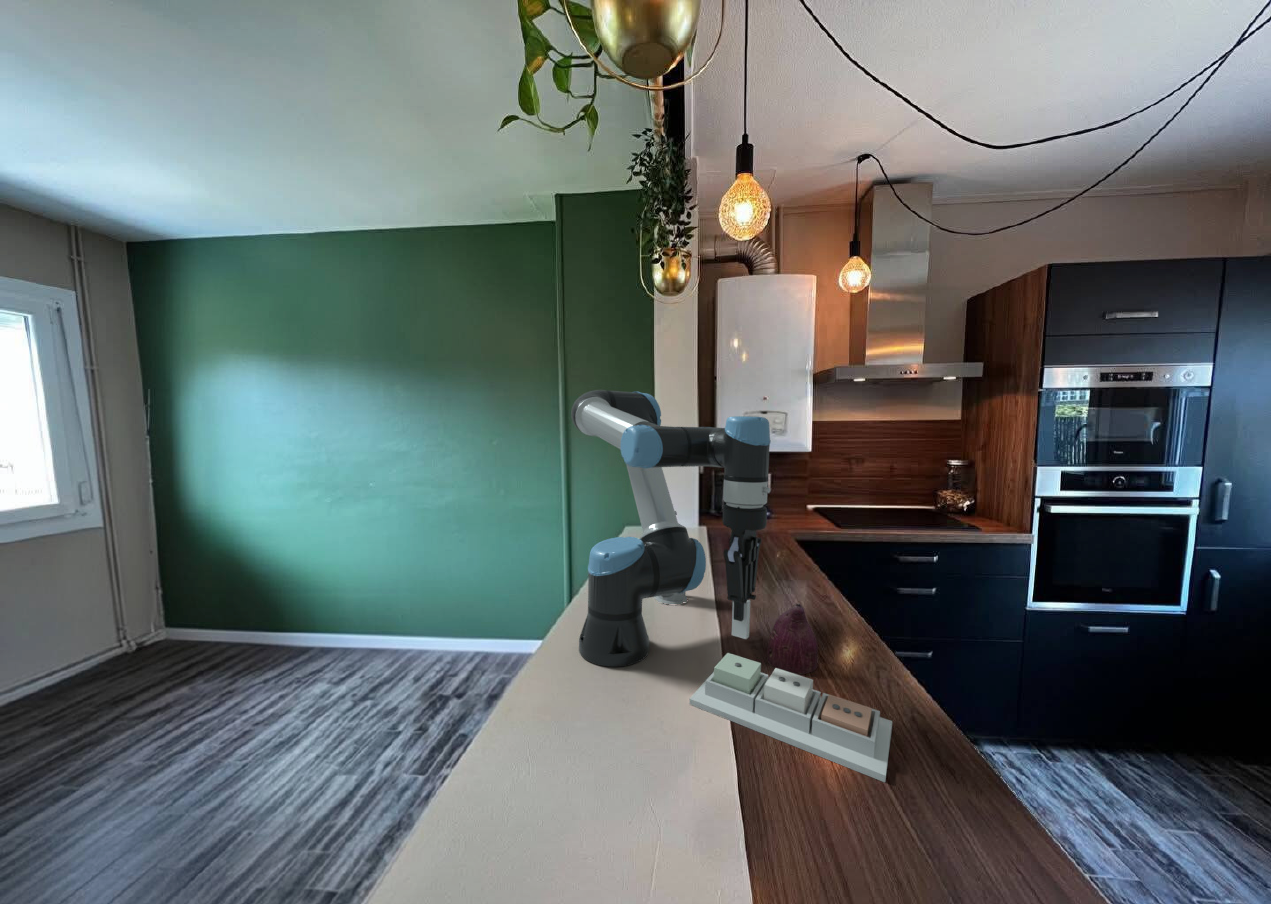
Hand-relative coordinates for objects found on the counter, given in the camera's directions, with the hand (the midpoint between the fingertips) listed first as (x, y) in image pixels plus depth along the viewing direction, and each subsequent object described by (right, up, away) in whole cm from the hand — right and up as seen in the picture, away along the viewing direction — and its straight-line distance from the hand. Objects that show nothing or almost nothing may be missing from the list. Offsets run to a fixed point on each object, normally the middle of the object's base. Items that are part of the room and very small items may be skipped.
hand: (740, 635), depth 80 cm
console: (+7, -12, -4) cm, 14 cm away
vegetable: (+14, -11, +14) cm, 23 cm away
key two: (+7, -9, -4) cm, 12 cm away
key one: (0, -9, +1) cm, 9 cm away
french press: (-8, -9, +46) cm, 48 cm away
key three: (+15, -11, -9) cm, 20 cm away
